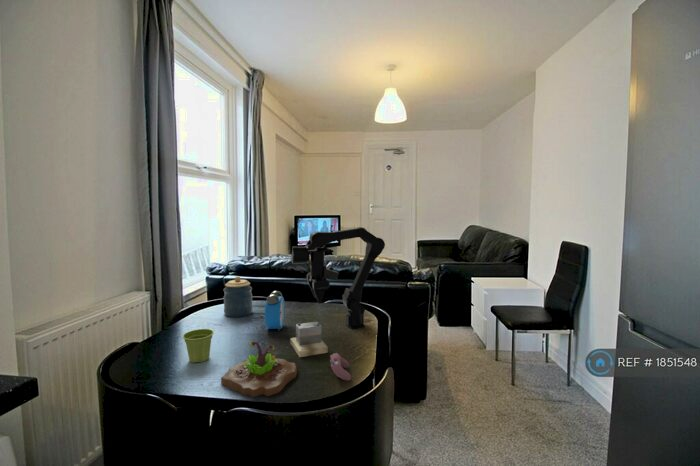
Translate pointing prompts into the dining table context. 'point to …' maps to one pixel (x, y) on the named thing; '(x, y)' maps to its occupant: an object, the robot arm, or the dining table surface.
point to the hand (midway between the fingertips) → (317, 300)
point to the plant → (260, 374)
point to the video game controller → (339, 367)
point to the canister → (237, 298)
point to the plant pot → (198, 344)
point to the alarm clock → (274, 311)
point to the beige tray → (308, 348)
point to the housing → (308, 333)
